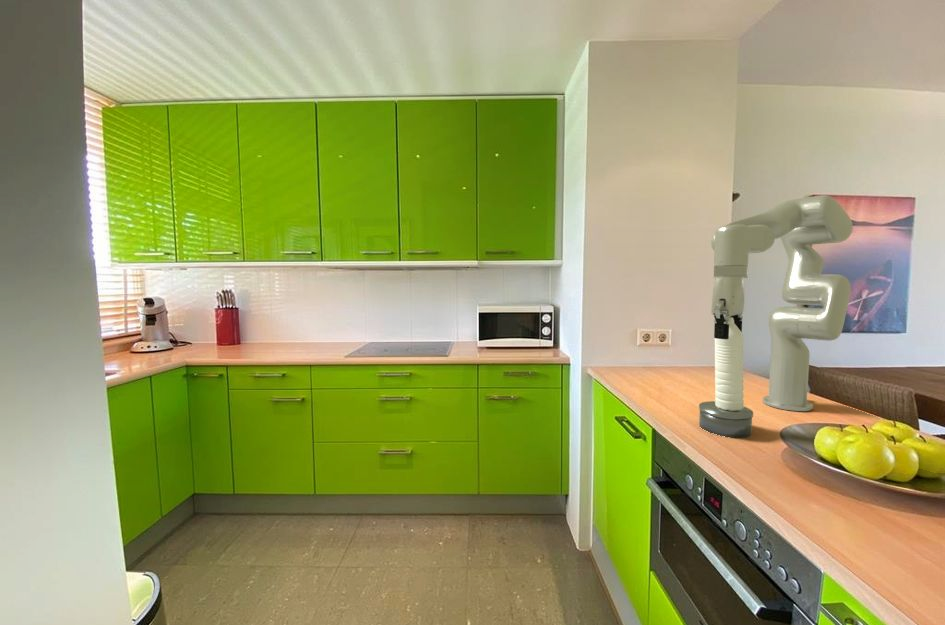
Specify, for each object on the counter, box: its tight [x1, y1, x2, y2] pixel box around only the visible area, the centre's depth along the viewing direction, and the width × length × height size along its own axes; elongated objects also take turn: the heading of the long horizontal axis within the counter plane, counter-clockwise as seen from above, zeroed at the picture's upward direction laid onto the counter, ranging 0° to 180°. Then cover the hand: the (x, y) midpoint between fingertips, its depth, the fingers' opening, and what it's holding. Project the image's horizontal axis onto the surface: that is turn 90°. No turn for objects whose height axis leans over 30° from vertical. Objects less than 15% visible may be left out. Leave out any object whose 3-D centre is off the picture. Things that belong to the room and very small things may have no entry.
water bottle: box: [714, 317, 745, 411], centre depth 107 cm, size 9×6×25 cm
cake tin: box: [698, 400, 754, 439], centre depth 106 cm, size 12×12×6 cm
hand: (728, 336), depth 104 cm, fingers open, 9 cm apart
